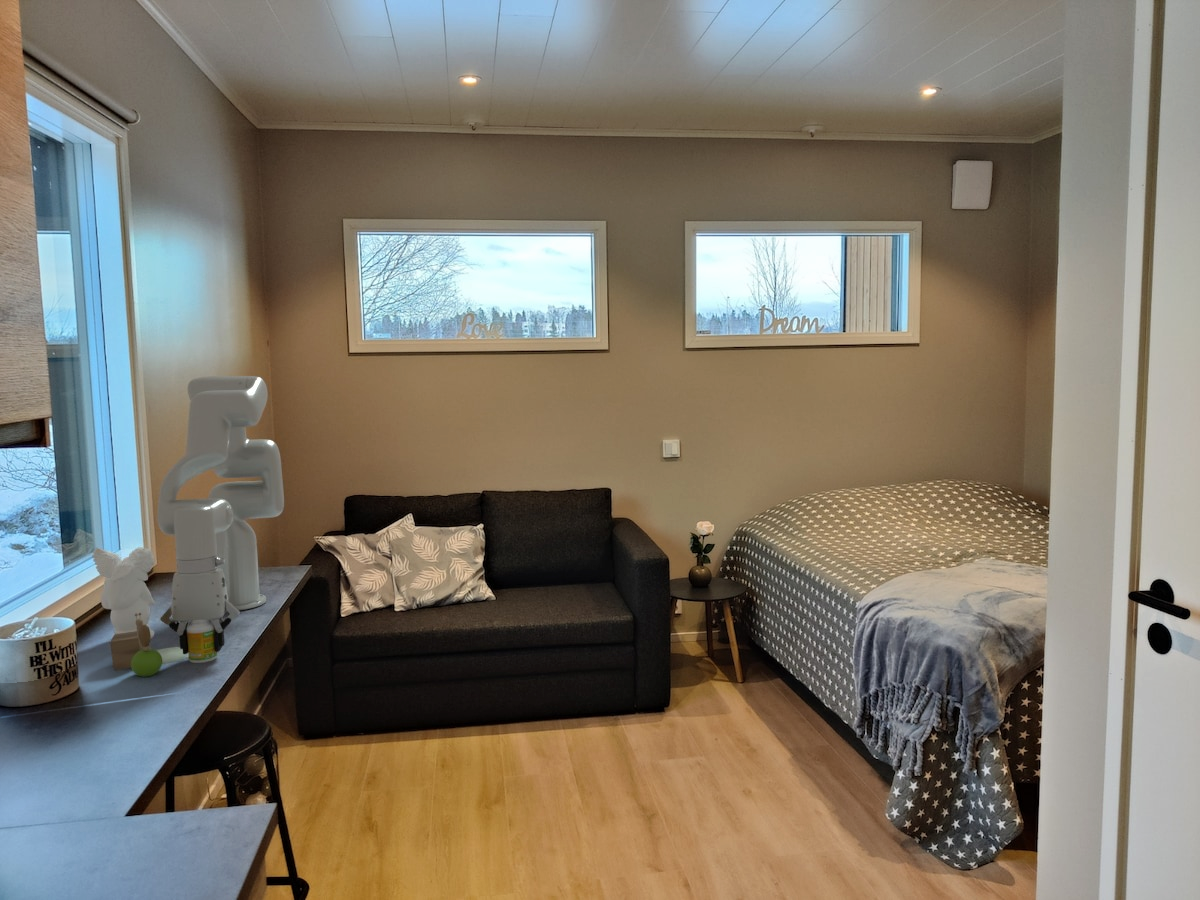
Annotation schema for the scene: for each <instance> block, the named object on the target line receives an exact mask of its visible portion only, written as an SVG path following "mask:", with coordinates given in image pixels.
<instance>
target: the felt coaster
mask: <svg viewBox="0 0 1200 900" xmlns="http://www.w3.org/2000/svg"><path fill="white" fill-rule="evenodd" d="M155 650H156V651H158V652H159V653H160V654H161V656H162V665H163V664H169V663H174V662H179V661H182V660H184V659H185V660H186V659H187V658H189V654H188V653H187V654H183V649H180V646H174V647H173V646H172V647H165V648H159V649H155Z"/></svg>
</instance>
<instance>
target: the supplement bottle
mask: <svg viewBox="0 0 1200 900" xmlns="http://www.w3.org/2000/svg"><path fill="white" fill-rule="evenodd" d="M189 623H190V624H188V627H187V639H188V654H189V657H188V661H189V662H190V663H192V664H203V663H209V662H212V661H214V660H216V658H218V652H216V651H215V647H214V633H215V630H216V629H215V627H214V625H213V622H212V620H194V621H189Z"/></svg>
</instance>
